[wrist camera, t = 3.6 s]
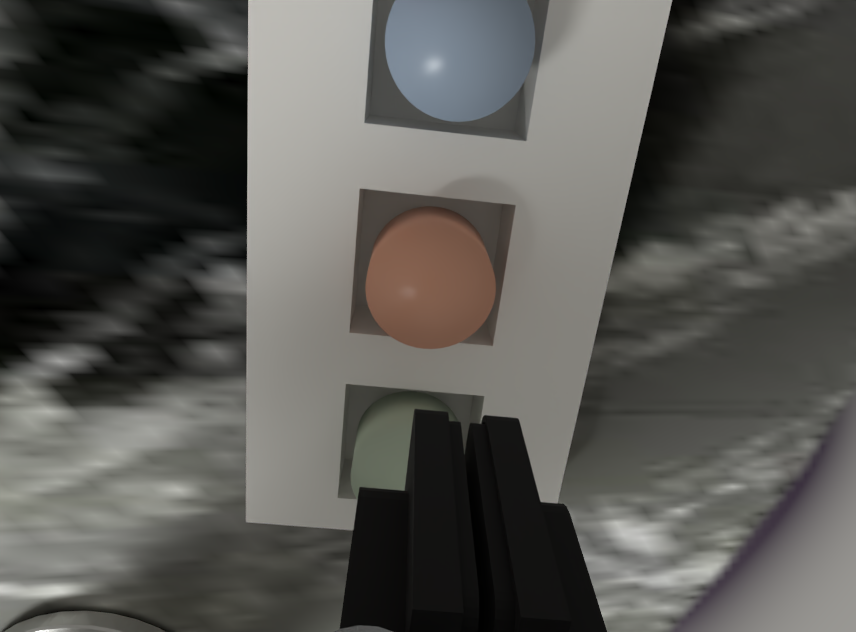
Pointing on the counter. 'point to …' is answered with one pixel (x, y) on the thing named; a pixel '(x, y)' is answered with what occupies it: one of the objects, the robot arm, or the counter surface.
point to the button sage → (388, 439)
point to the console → (419, 187)
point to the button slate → (459, 54)
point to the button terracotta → (430, 278)
